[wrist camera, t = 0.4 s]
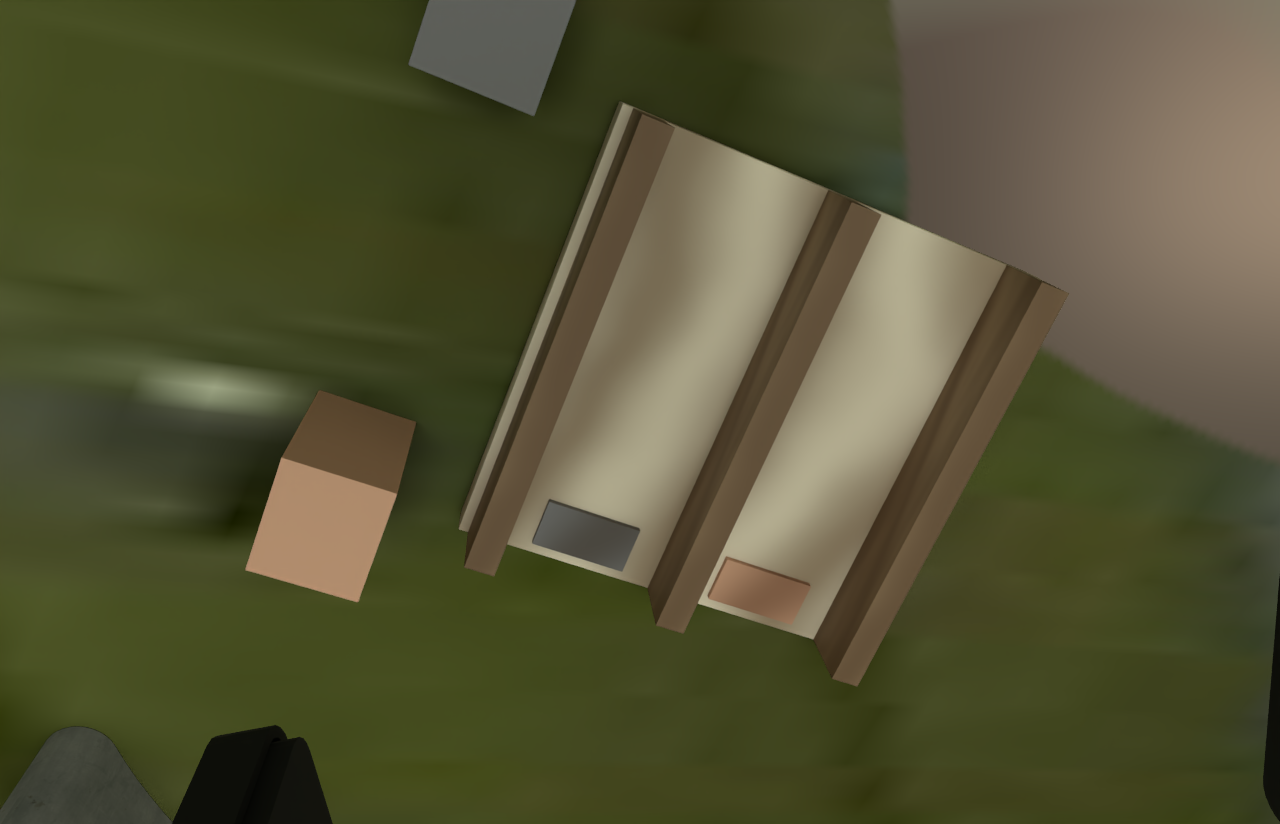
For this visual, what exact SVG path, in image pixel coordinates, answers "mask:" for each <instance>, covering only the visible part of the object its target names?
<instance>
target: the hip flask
mask: <svg viewBox="0 0 1280 824" xmlns="http://www.w3.org/2000/svg"><path fill="white" fill-rule="evenodd" d="M172 823H173V822H172V821H171V820H170V819H169V818H168V817H167V816H166V815H165V814H164V813H163V811H162V810H161V809H160V808H159V807H158V805H157V804H156V803H155V802H154V800H153V799H152V798H151V797H150V796H149V794H148V793H147V792H146V790H145V789H144V788H143V787H142V785H141V784H140V783H139V781H138V780H137V779H136V777H135V776H134V774H133V773H132V771H131V770H130V768H129V767H128V766H127V764H126V763H125V761H124V760H123V758H122V756H121V755H120V753H119V752H118V750H117V748H116V747H115V745H114V744H113V743H112V741H111V740H110V739H109V738H108V737H106V736H105V735H104V734H102V733H100V732H98V731H96V730H94V729H90V728H86V727H68V728H64V729H61V730H59V731H57V732H55V733H54V734H52V735H51V736H50V737H49V738H48V739H47V740H46V742H45V743H44V745H43V746H42V748H41V749H40V751H39V752H38V754H37V755H36V757H35V758H34V760H33V761H32V763H31V764H30V766H29V767H28V769H27V770H26V772H25V773H24V775H23V776H22V778H21V779H20V781H19V782H18V784H17V785H16V787H15V788H14V790H13V791H12V793H11V794H10V796H9V797H8V799H7V800H6V802H5V803H4V805H3V806H2V808H1V809H0V824H172Z"/></svg>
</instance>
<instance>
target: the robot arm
mask: <svg viewBox="0 0 1280 824" xmlns="http://www.w3.org/2000/svg"><path fill="white" fill-rule="evenodd" d="M1263 785H1264V791H1265V795H1266V798H1267V800H1268V803H1269V805H1270V807H1271V809H1272V811H1273V813H1274V814H1275V816H1276V817H1277V818H1278V820H1279V821H1280V578H1279V590H1278V603H1277V615H1276V627H1275V639H1274V652H1273V664H1272V676H1271V689H1270V701H1269V713H1268V725H1267V738H1266V750H1265V762H1264V775H1263ZM172 824H332V820H331V817H330V814H329V811H328V807H327V804H326V801H325V798H324V795H323V791H322V788H321V785H320V782H319V779H318V775H317V772H316V769H315V766H314V762H313V759H312V756H311V753H310V750H309V747H308V745H307V743H306V741H305V740H304V739H303V738H301V737H298V738H292V739H287V737H286V734H285V733H284V731H283V730H282V729H281V727H279V726H276V725H274V726H268V727H263V728H257V729H252V730H247V731H241V732H236V733H230V734H225V735H219V736H216V737H214V738H212V739H211V740H210V742H209V744H208V745H207V747H206V749H205V751H204V754H203V756H202V758H201V760H200V762H199V765H198V767H197V769H196V771H195V774H194V776H193V778H192V780H191V783H190V785H189V787H188V789H187V791H186V794H185V796H184V798H183V800H182V803H181V805H180V807H179V809H178V812H177V814H176V816H175V818H174V820H173V823H172Z"/></svg>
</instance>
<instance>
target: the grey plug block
mask: <svg viewBox="0 0 1280 824" xmlns="http://www.w3.org/2000/svg"><path fill="white" fill-rule="evenodd" d="M575 2H576V0H429V2H428V5H427V9H426V12H425V15H424V18H423V21H422V24H421V27H420V30H419V33H418V36H417V39H416V42H415V46H414V49H413V52H412V55H411V58H410V61H409V64H408V65H410V66H412V67H415V68H417V69H420V70H422V71H425V72H427V73H429V74H432V75H434V76H437V77H439V78H442V79H444V80H447V81H449V82H451V83H454V84H456V85H459V86H461V87H464V88H466V89H469V90H471V91H473V92H476V93H478V94H481V95H483V96H486V97H488V98H490V99H493V100H495V101H498V102H500V103H503V104H505V105H508V106H510V107H512V108H515V109H517V110H520V111H522V112H525V113H527V114H530V115H532V116H534V115H535V112H536V110H537V107H538V104H539V101H540V99H541V96H542V93H543V90H544V88H545V85H546V82H547V79H548V77H549V74H550V71H551V68H552V65H553V63H554V60H555V57H556V54H557V52H558V49H559V46H560V43H561V41H562V38H563V35H564V32H565V30H566V27H567V24H568V21H569V19H570V16H571V13H572V10H573V8H574V5H575Z"/></svg>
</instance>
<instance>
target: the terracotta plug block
mask: <svg viewBox="0 0 1280 824" xmlns="http://www.w3.org/2000/svg"><path fill="white" fill-rule="evenodd" d="M415 425H416V422H415V421H411V420H408V419H405V418H402V417H399V416H396V415H393V414H390V413H387V412H384V411H381V410H378V409H375V408H372V407H369V406H366V405H363V404H360V403H357V402H354V401H351V400H348V399H345V398H342V397H339V396H336V395H333V394H330V393H327V392H324V391H321V390H319V391H318V393H317V395H316V396H315V398H314V400H313V402H312V404H311V406H310V407H309V409H308V411H307V413H306V415H305V416H304V418H303V420H302V422H301V424H300V425H299V427H298V429H297V431H296V433H295V434H294V436H293V438H292V440H291V442H290V443H289V445H288V447H287V449H286V451H285V452H284V454H283V456H282V458H281V461H280V464H279V467H278V470H277V473H276V476H275V480H274V483H273V486H272V489H271V492H270V495H269V498H268V501H267V504H266V507H265V510H264V514H263V517H262V520H261V523H260V526H259V529H258V532H257V535H256V538H255V541H254V544H253V548H252V551H251V554H250V557H249V560H248V563H247V566H246V569H245V570H247V571H251V572H254V573H258V574H261V575H265V576H268V577H272V578H275V579H279V580H282V581H285V582H289V583H292V584H296V585H299V586H303V587H306V588H310V589H313V590H317V591H320V592H324V593H327V594H331V595H334V596H338V597H341V598H344V599H348V600H351V601H355V602H358V601H359V598H360V595H361V592H362V590H363V587H364V584H365V581H366V579H367V576H368V573H369V570H370V568H371V565H372V562H373V559H374V556H375V554H376V551H377V548H378V545H379V543H380V540H381V537H382V534H383V532H384V529H385V526H386V523H387V521H388V518H389V515H390V512H391V510H392V507H393V504H394V501H395V499H396V496H397V493H398V489H399V485H400V482H401V478H402V474H403V470H404V467H405V463H406V459H407V455H408V452H409V448H410V444H411V440H412V436H413V433H414V429H415Z"/></svg>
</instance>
